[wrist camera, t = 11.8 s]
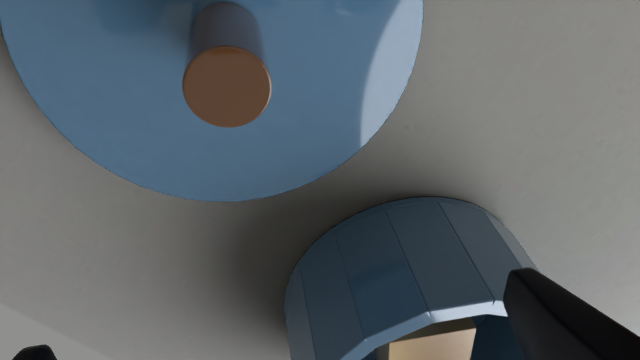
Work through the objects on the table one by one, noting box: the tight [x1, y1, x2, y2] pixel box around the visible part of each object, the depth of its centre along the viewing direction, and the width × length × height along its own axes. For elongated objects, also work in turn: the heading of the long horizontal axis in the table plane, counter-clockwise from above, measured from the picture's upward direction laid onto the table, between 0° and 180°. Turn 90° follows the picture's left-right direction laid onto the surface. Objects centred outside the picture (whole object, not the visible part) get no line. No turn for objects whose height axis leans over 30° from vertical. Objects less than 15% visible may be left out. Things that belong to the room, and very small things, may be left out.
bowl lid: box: [0, 0, 423, 202], centre depth 16 cm, size 14×14×5 cm
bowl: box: [284, 197, 540, 360], centre depth 25 cm, size 13×13×6 cm
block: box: [374, 317, 476, 360], centre depth 25 cm, size 4×4×4 cm
